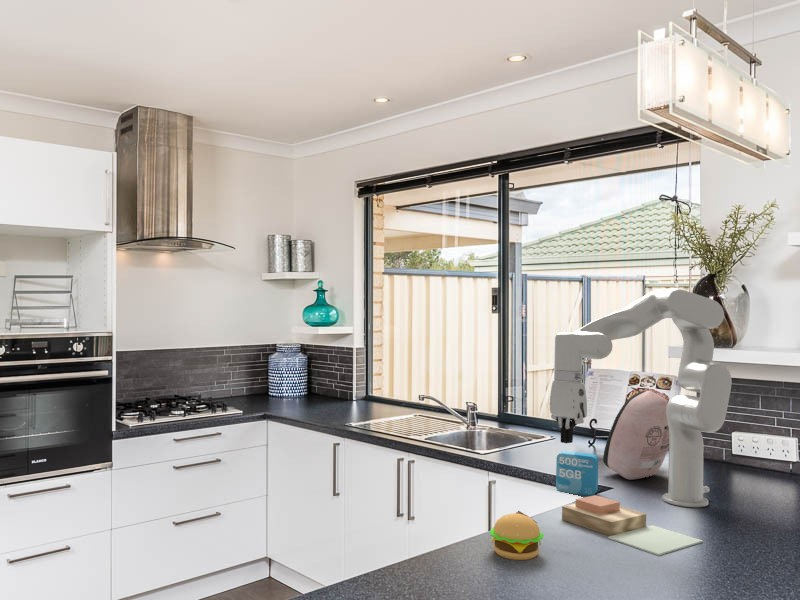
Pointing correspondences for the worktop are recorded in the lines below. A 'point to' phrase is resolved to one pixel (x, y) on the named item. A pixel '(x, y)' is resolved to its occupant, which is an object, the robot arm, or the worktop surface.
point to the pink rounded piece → (638, 437)
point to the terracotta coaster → (597, 504)
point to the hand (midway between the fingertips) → (566, 442)
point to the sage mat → (655, 540)
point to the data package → (577, 473)
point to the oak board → (605, 519)
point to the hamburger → (516, 537)
